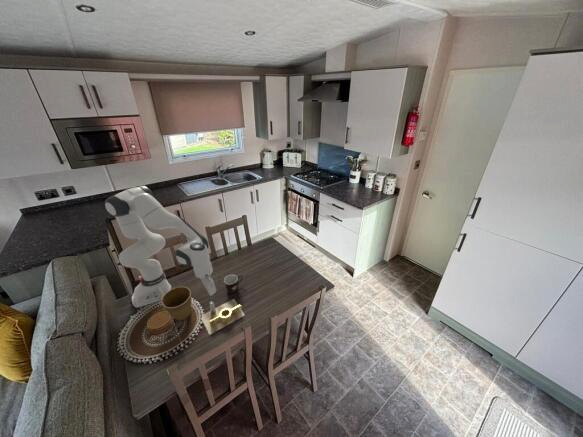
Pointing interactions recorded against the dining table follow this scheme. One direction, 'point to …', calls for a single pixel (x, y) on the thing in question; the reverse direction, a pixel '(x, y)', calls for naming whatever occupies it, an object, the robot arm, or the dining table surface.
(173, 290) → the plant pot
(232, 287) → the coffee mug
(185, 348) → the dining table surface
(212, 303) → the pin
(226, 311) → the hinge
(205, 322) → the board
